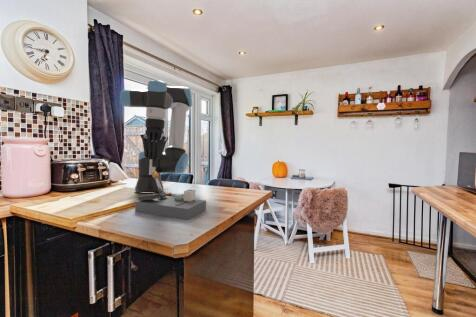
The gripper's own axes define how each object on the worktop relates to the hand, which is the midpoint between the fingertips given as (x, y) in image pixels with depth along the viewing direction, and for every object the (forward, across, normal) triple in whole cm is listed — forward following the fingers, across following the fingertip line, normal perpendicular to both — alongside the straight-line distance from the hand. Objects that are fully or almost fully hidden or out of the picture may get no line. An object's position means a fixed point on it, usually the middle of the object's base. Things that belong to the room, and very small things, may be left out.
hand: (152, 174), depth 101 cm
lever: (+8, +6, 0) cm, 10 cm away
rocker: (+8, +4, -5) cm, 10 cm away
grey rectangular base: (+13, +12, -1) cm, 18 cm away
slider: (+9, +18, +3) cm, 20 cm away
